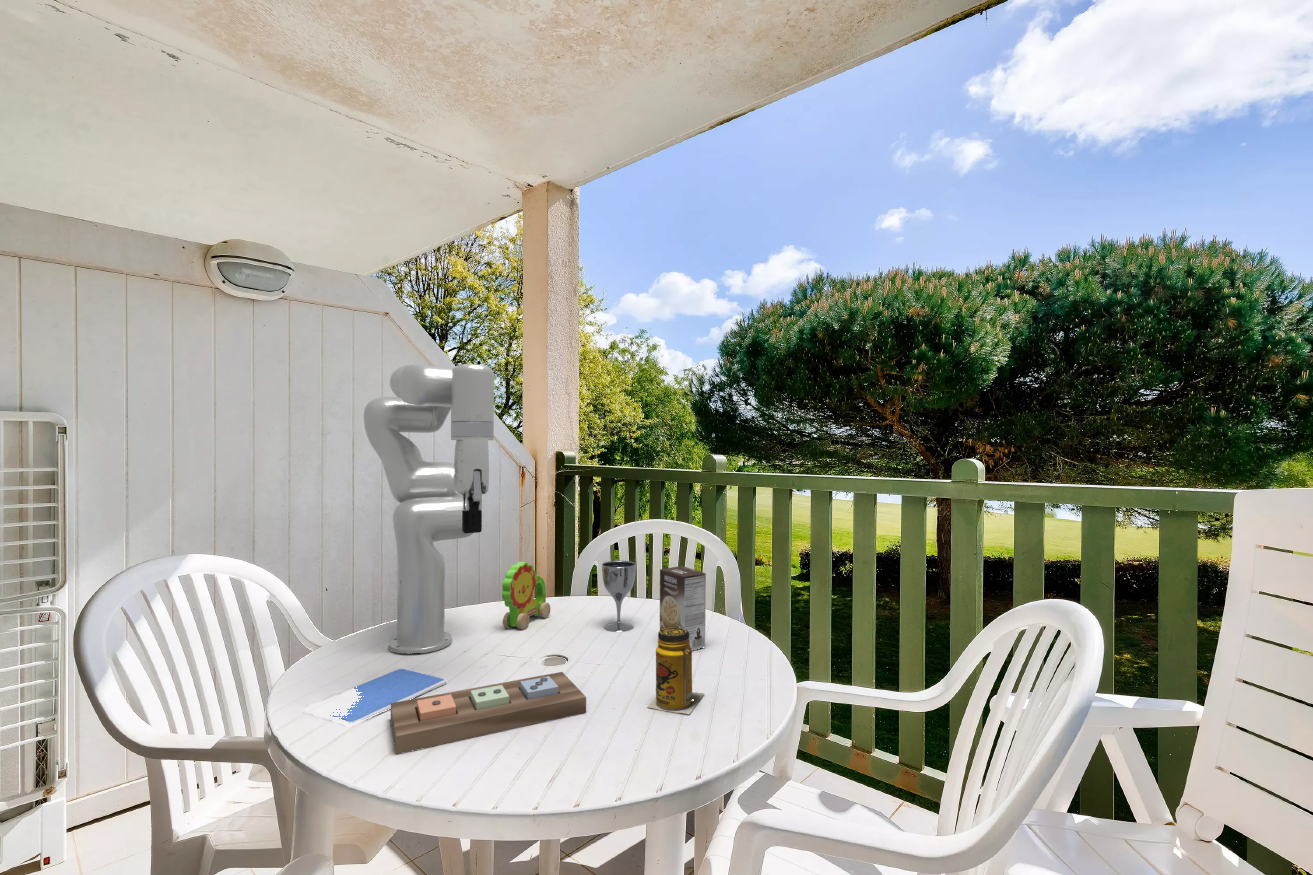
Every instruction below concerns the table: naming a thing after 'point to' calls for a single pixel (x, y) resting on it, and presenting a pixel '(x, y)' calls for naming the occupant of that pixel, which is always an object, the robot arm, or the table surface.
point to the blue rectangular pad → (389, 692)
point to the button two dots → (489, 697)
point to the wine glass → (618, 588)
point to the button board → (483, 714)
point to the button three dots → (538, 688)
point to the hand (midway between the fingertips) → (471, 531)
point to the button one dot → (435, 707)
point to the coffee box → (684, 602)
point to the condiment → (674, 672)
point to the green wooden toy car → (523, 596)
